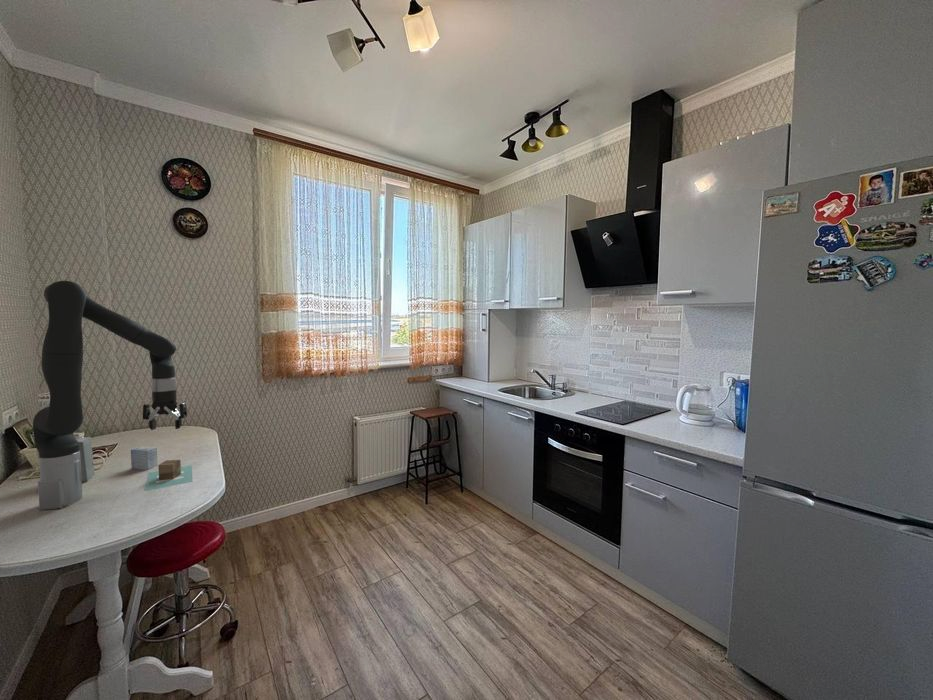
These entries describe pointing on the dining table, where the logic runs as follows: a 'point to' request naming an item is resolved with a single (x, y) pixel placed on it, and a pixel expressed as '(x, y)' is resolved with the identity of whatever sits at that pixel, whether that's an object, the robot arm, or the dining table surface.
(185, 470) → the letter card
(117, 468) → the dining table surface
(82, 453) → the skincare box
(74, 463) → the robot arm
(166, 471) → the walnut block
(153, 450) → the medicine box
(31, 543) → the dining table surface
